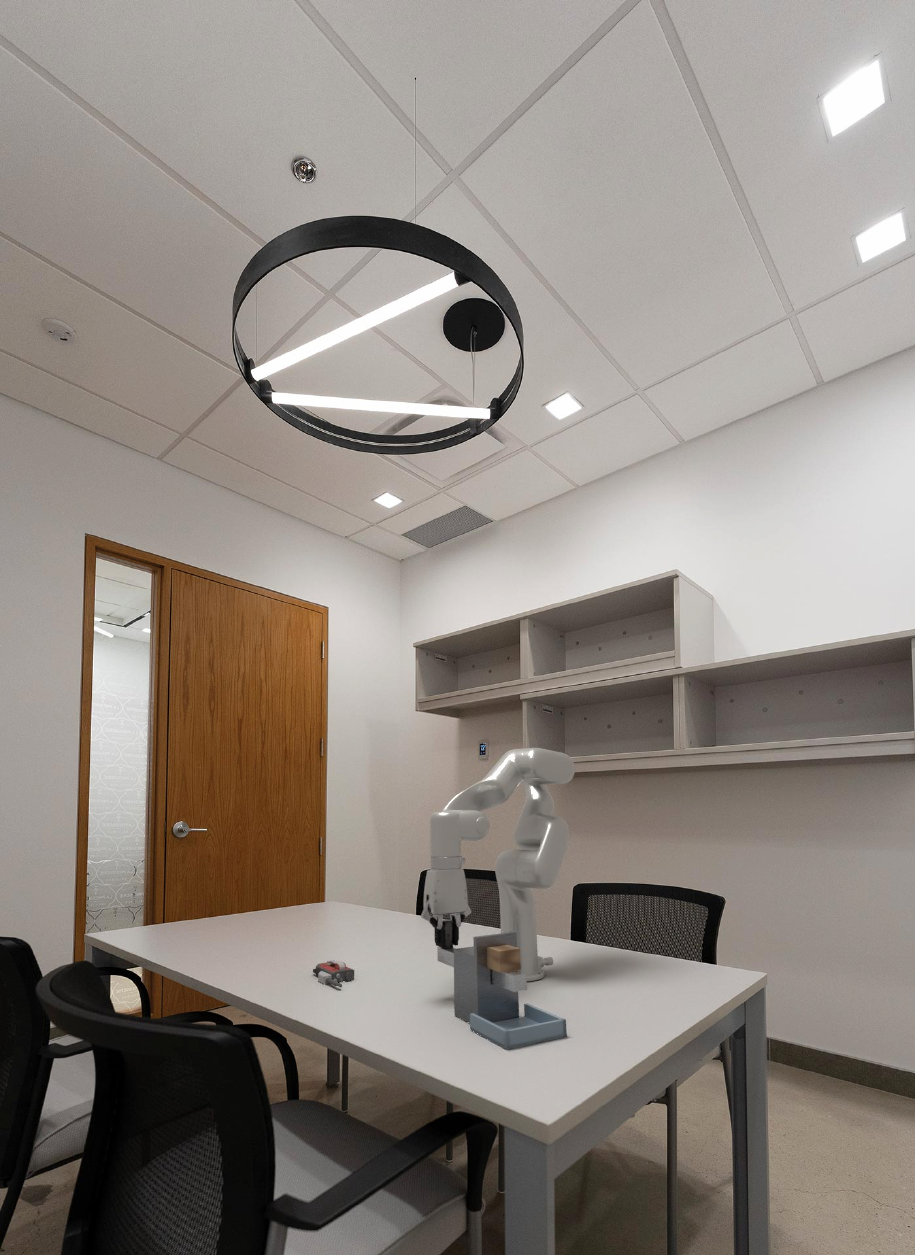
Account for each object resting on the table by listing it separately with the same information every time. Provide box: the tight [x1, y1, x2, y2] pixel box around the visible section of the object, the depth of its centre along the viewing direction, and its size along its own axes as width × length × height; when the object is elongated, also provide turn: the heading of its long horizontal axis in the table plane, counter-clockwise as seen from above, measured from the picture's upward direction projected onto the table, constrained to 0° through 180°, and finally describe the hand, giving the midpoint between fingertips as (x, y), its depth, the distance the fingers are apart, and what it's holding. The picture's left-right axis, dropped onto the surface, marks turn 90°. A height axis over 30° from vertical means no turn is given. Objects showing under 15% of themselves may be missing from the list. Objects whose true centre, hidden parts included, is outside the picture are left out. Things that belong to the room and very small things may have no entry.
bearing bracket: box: [453, 932, 520, 1024], centre depth 152 cm, size 10×10×17 cm
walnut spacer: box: [487, 945, 521, 973], centre depth 147 cm, size 5×5×4 cm
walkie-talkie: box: [312, 959, 355, 988], centre depth 184 cm, size 9×4×20 cm
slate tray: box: [469, 1003, 568, 1050], centre depth 141 cm, size 14×13×3 cm
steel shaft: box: [436, 919, 528, 993], centre depth 156 cm, size 3×33×9 cm, turn 29°
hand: (446, 944), depth 168 cm, fingers closed on steel shaft, 3 cm apart
